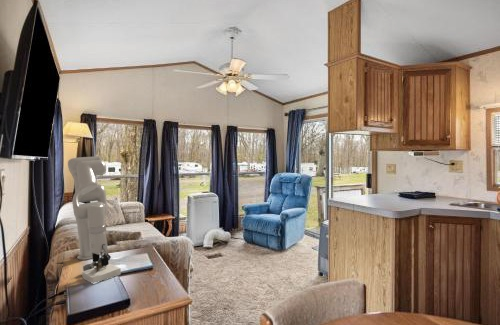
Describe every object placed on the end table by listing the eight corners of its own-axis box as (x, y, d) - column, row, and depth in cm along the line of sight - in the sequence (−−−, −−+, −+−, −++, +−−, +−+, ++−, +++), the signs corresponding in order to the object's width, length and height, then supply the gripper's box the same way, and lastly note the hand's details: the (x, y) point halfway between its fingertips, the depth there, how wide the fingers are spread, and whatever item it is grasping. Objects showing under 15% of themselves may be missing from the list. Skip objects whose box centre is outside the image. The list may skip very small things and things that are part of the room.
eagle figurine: (108, 269, 145) (114, 259, 153) (98, 258, 143) (105, 249, 152) (96, 277, 145) (103, 267, 154) (85, 267, 143) (93, 257, 152)
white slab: (82, 277, 146) (82, 272, 146) (109, 268, 156) (108, 263, 156) (93, 284, 138) (93, 278, 138) (120, 274, 148) (120, 268, 148)
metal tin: (82, 273, 152) (81, 266, 152) (92, 270, 156) (91, 263, 155) (86, 276, 148) (85, 268, 148) (96, 272, 152) (95, 264, 152)
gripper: (82, 229, 149) (85, 262, 150) (97, 233, 138) (100, 270, 138) (97, 225, 154) (100, 257, 155) (113, 229, 143) (116, 264, 144)
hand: (100, 263), depth 147 cm, fingers open, 9 cm apart
